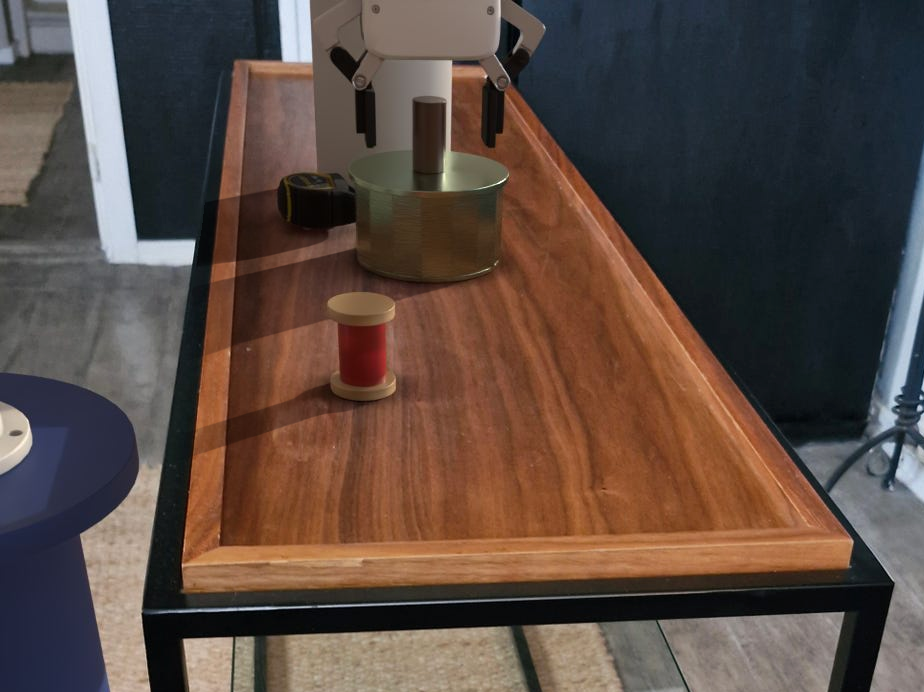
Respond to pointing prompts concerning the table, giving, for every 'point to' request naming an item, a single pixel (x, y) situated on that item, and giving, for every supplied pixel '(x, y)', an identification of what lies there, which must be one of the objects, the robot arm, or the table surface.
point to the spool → (362, 345)
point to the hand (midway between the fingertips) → (429, 143)
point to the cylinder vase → (391, 99)
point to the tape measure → (316, 200)
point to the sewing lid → (428, 162)
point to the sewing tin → (428, 235)
